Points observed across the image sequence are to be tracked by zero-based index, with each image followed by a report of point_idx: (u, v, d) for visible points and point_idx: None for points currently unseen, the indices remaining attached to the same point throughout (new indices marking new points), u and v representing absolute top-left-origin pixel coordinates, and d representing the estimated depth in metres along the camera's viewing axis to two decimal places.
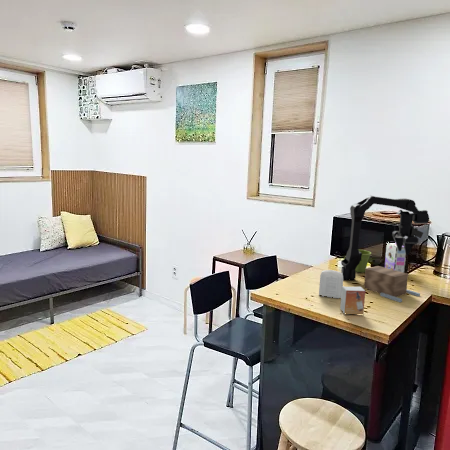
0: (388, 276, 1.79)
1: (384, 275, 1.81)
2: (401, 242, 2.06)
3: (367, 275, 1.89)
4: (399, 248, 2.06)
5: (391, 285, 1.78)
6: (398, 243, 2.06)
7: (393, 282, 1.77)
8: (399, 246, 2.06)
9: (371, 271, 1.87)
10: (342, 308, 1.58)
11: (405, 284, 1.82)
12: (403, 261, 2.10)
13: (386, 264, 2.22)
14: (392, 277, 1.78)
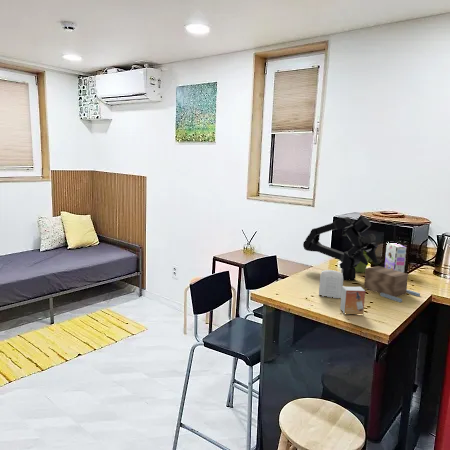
0: (388, 276, 1.79)
1: (384, 275, 1.81)
2: (372, 254, 1.97)
3: (367, 275, 1.89)
4: (374, 260, 1.96)
5: (391, 285, 1.78)
6: (371, 256, 1.97)
7: (393, 282, 1.77)
8: (373, 258, 1.96)
9: (371, 271, 1.87)
10: (342, 308, 1.58)
11: (405, 284, 1.82)
12: (403, 261, 2.10)
13: (386, 264, 2.22)
14: (392, 277, 1.78)
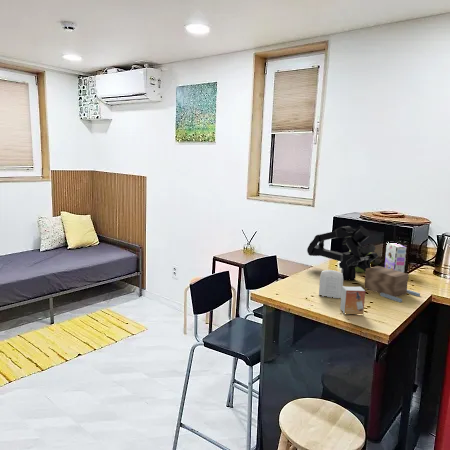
0: (388, 276, 1.79)
1: (384, 275, 1.81)
2: None
3: (367, 275, 1.89)
4: None
5: (392, 285, 1.78)
6: None
7: (394, 282, 1.77)
8: None
9: (371, 271, 1.87)
10: (342, 308, 1.58)
11: (405, 284, 1.82)
12: (403, 261, 2.10)
13: (386, 264, 2.22)
14: (392, 277, 1.78)
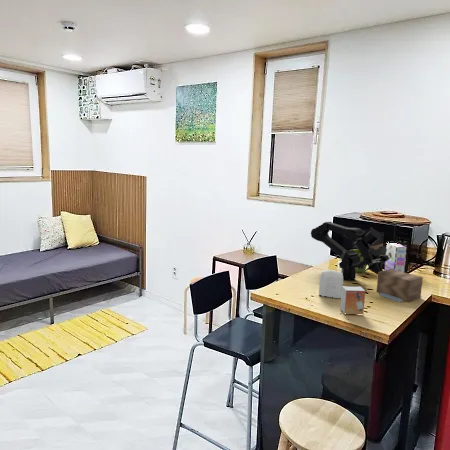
0: (402, 280, 1.74)
1: (398, 279, 1.76)
2: None
3: (380, 278, 1.83)
4: None
5: (406, 289, 1.73)
6: None
7: (408, 286, 1.72)
8: None
9: (384, 274, 1.81)
10: (342, 308, 1.58)
11: (419, 288, 1.76)
12: (403, 261, 2.10)
13: (386, 264, 2.22)
14: (406, 281, 1.72)
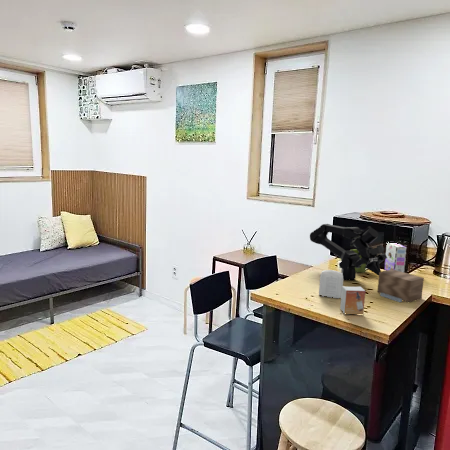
0: (403, 280, 1.74)
1: (399, 279, 1.75)
2: None
3: (381, 278, 1.83)
4: None
5: (406, 289, 1.72)
6: None
7: (409, 287, 1.71)
8: None
9: (385, 275, 1.81)
10: (342, 308, 1.58)
11: (420, 288, 1.76)
12: (403, 261, 2.10)
13: (386, 264, 2.22)
14: (407, 281, 1.72)
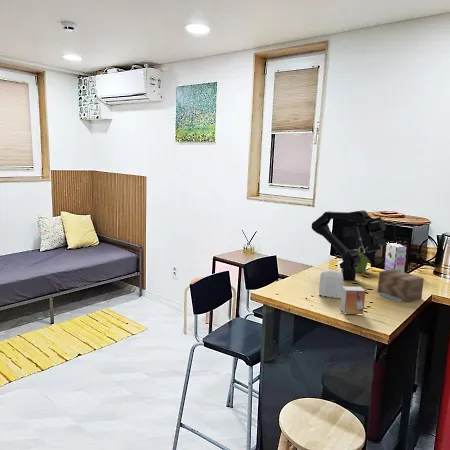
0: (402, 280, 1.74)
1: (398, 279, 1.75)
2: None
3: (381, 278, 1.84)
4: None
5: (405, 289, 1.72)
6: None
7: (407, 287, 1.71)
8: None
9: (385, 274, 1.81)
10: (342, 308, 1.58)
11: (420, 289, 1.76)
12: (403, 261, 2.10)
13: (386, 264, 2.22)
14: (406, 281, 1.72)
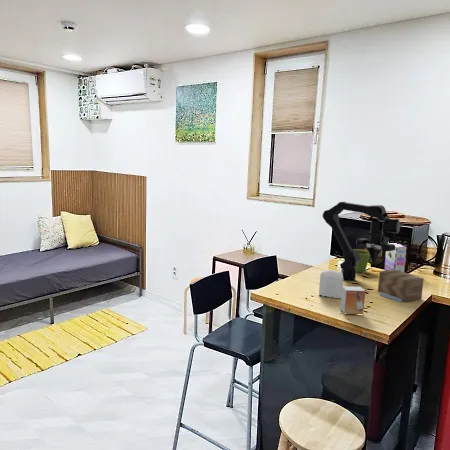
0: (401, 280, 1.74)
1: (397, 279, 1.76)
2: None
3: (381, 278, 1.84)
4: None
5: (404, 289, 1.73)
6: (372, 253, 1.94)
7: (406, 287, 1.72)
8: None
9: (385, 274, 1.82)
10: (342, 308, 1.58)
11: (420, 289, 1.75)
12: (403, 261, 2.10)
13: (386, 264, 2.22)
14: (404, 281, 1.72)
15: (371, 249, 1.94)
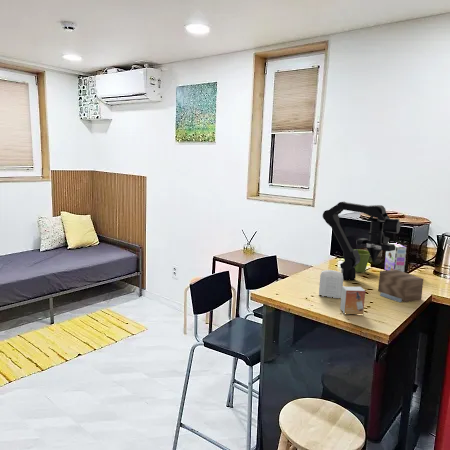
0: (400, 280, 1.74)
1: (396, 279, 1.76)
2: None
3: (381, 278, 1.84)
4: None
5: (403, 289, 1.73)
6: (372, 253, 1.94)
7: (405, 287, 1.72)
8: None
9: (385, 274, 1.82)
10: (342, 308, 1.58)
11: (420, 289, 1.75)
12: (403, 261, 2.10)
13: (386, 264, 2.22)
14: (403, 281, 1.72)
15: (371, 249, 1.94)
